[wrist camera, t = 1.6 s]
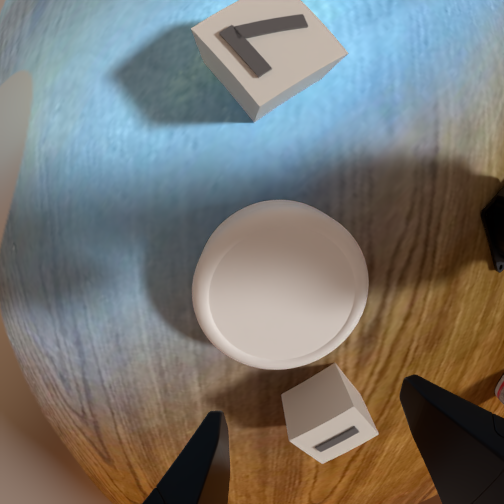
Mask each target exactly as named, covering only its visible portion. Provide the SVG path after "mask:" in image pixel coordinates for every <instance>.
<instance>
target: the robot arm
mask: <svg viewBox="0 0 504 504" xmlns="http://www.w3.org/2000/svg"><path fill="white" fill-rule="evenodd" d="M486 214H487V215H486ZM481 218H482V221H483V224H484V228H485V231H486V235H487V238H488V242H489V246H490V250H491V254H492V258H493V262H494V267H495V270H496V271H497V272H499V273H500V272H502V271H503V269H504V187H503V188H502V189H501V191H500V192H499V193H498V194H497V195H496V196H495V197H494V198H493V199H492V201H491V202H490V203H489V204H488V205H487V206H486V207H485V208H484V209H483V210H482V212H481ZM400 401H401V404H402V407H403V410H404V413H405V415H406V418H407V421H408V424H409V427H410V430H411V433H412V436H413V438H414V440H415V442H416V445H417V447H418V449H419V451H420V453H421V455H422V458H423V460H424V462H425V464H426V466H427V469H428V471H429V473H430V475H431V478H432V480H433V482H434V485H435V487H436V489H437V492H438V494H439V496H440V499H441V501H442V504H504V418H502V417H500V416H498V415H496V414H492V413H491V412H489V411H487V410H485V409H483V408H481V407H479V406H477V405H475V404H473V403H471V402H469V401H467V400H465V399H463V398H461V397H459V396H457V395H455V394H453V393H451V392H449V391H447V390H445V389H443V388H441V387H439V386H437V385H435V384H433V383H431V382H430V381H428V380H426V379H424V378H422V377H420V376H418V375H411V376H408V377H405V378H404V380H403V383H402V387H401V391H400ZM229 481H230V456H229V436H228V427H227V423H226V420H225V416H224V413H223V411H210V412H209V413H208V414H207V416H206V417H205V419H204V420H203V422H202V423H201V425H200V426H199V427H198V429H197V430H196V432H195V433H194V435H193V436H192V437H191V439H190V440H189V442H188V443H187V445H186V446H185V447H184V449H183V450H182V452H181V453H180V454H179V456H178V457H177V459H176V460H175V461H174V463H173V464H172V465H171V467H170V468H169V470H168V471H167V472H166V474H165V475H164V476H163V478H162V479H161V480H160V482H159V483H158V484H157V486H156V487H157V488H154V489H153V491H152V492H151V493H150V495H149V496H148V497H147V498H146V500H145V501H144V502H143V503H142V504H227V503H228V492H229Z"/></svg>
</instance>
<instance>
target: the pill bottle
mask: <svg viewBox="0 0 504 504" xmlns="http://www.w3.org/2000/svg"><path fill="white" fill-rule="evenodd" d="M495 395H496V396H497V397H498V399H499V400H500V401H501V402H502V403H503V404H504V375H503V376H502V378H501V379H500V381H499V382H498V384H497V386H496V389H495Z"/></svg>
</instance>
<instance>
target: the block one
mask: <svg viewBox="0 0 504 504" xmlns="http://www.w3.org/2000/svg"><path fill="white" fill-rule="evenodd" d="M281 397H282V403H283V409H284V415H285V420H286V426H287V432H288V438H289V441H290V442H291V443H293V444H294V445H296V446H297V447H298V448H300V449H301V450H303V451H304V452H306V453H307V454H308V455H310V456H311V457H313V458H314V459H316V460H317V461H319V462H320V463H322V464H323V463H325V462H327V461H329V460H332V459H334V458H336V457H338V456H340V455H342V454H344V453H346V452H348V451H350V450H351V449H353V448H355V447H357V446H359V445H361V444H363V443H364V442H366V441H368V440H370V439H371V438H373V437H375V436H377V435H378V434H379V433H378V431H377V429H376V427H375V425H374V423H373V420H372V418H371V416H370V414H369V412H368V410H367V408H366V405H365V403H364V401H363V399H362V397H361V395H360V393H359V392H358V391H357V390H356V388H355V387H354V386H353V385H352V383H351V382H350V381H349V380H348V378H347V377H346V376H345V375H344V373H343V372H342V371H341V370H340V368H339V367H338V366H337V365H336V363H333V364H332V365H330V366H329V367H327V368H325V369H324V370H322V371H321V372H319V373H317V374H316V375H314V376H312V377H311V378H309V379H307V380H306V381H304V382H302V383H301V384H299V385H297V386H295V387H294V388H292V389H290V390H288V391H286V392H285V393H283V394H281Z"/></svg>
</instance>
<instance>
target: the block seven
mask: <svg viewBox="0 0 504 504" xmlns="http://www.w3.org/2000/svg"><path fill="white" fill-rule="evenodd" d="M191 30H192V33H193V36H194V38H195V41H196V44H197V46H198V49H199V52H200V55H201V57H202V60H203V62H204V63H205V65H206V66H207V67H208V68H209V69H210V70H211V71H212V72H213V74H214V75H215V76H216V77H217V78H218V79H219V81H220V82H221V83H222V84H223V85H224V86H225V88H226V89H227V90H228V91H229V92H230V94H231V95H232V96H233V97H234V98H235V100H236V101H237V102H238V103H239V104H240V106H241V107H242V108H243V109H244V111H245V112H246V113H247V114H248V116H249V117H250V118H251V119H252V121H253V122H254V123H255V122H256V121H257V120H259V119H260V118H262V117H263V116H265V115H266V114H268V113H269V112H271V111H272V110H274V109H275V108H276V107H278V106H279V105H281V104H283V103H284V102H286V101H287V100H289V99H290V98H292V97H293V96H295V95H296V94H298V93H300V92H301V91H303V90H304V89H306V88H308V87H309V86H311V85H312V84H314V83H316V82H317V81H319V80H321V79H322V78H323V77H324V76H325V75H326V74H327V73H328V72H329V71H330V70H331V69H332V68H333V67H334V66H335V65H336V64H338V63H339V62H340V61H341V60H342V59H343V58H344V57H345V56H346V55H347V54H348V52H347V51H346V50H345V49H344V47H343V46H342V45H341V44H340V43H339V41H338V40H337V39H336V38H335V37H334V35H333V34H332V33H331V32H330V31H329V30H328V29H327V27H326V26H325V25H324V24H323V23H322V22H321V21H320V20H319V19H318V18H317V17H316V15H315V14H314V13H313V12H312V11H311V10H310V9H309V8H308V7H307V6H306V5H305V4H304V3H303V2H302V1H301V0H239V1H237V2H235V3H233V4H231V5H229V6H228V7H226V8H224V9H222V10H220V11H219V12H217V13H215V14H214V15H212V16H210V17H209V18H207V19H205V20H204V21H202V22H200V23H199V24H197V25H196V26H194V27H192V28H191Z"/></svg>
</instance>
